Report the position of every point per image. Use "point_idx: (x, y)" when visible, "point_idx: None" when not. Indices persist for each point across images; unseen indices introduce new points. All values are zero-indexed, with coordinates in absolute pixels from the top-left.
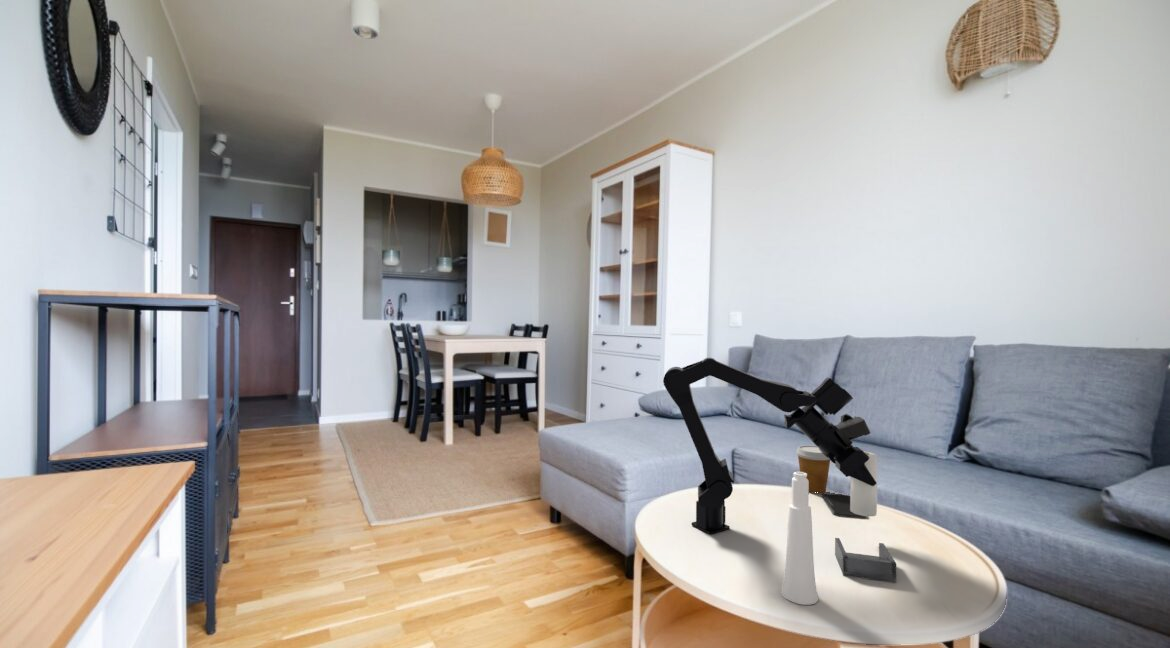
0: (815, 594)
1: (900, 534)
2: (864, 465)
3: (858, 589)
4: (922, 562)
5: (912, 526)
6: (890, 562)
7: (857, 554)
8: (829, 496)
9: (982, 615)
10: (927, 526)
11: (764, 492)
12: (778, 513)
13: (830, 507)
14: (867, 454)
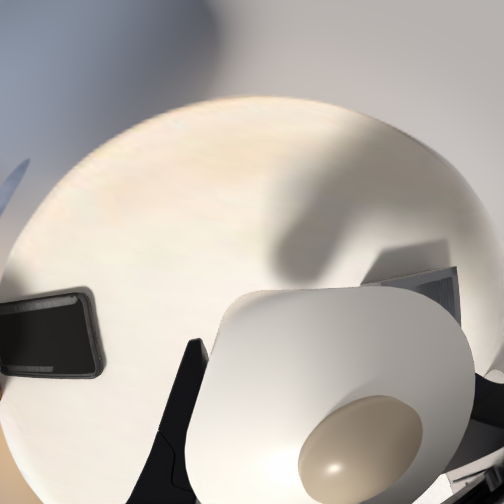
0: (502, 372)
1: (167, 222)
2: (487, 381)
3: (465, 327)
4: (328, 203)
5: (104, 188)
6: (456, 276)
7: None
8: (5, 359)
9: (455, 171)
10: (96, 158)
11: (55, 484)
12: None
13: (69, 378)
14: (409, 410)
